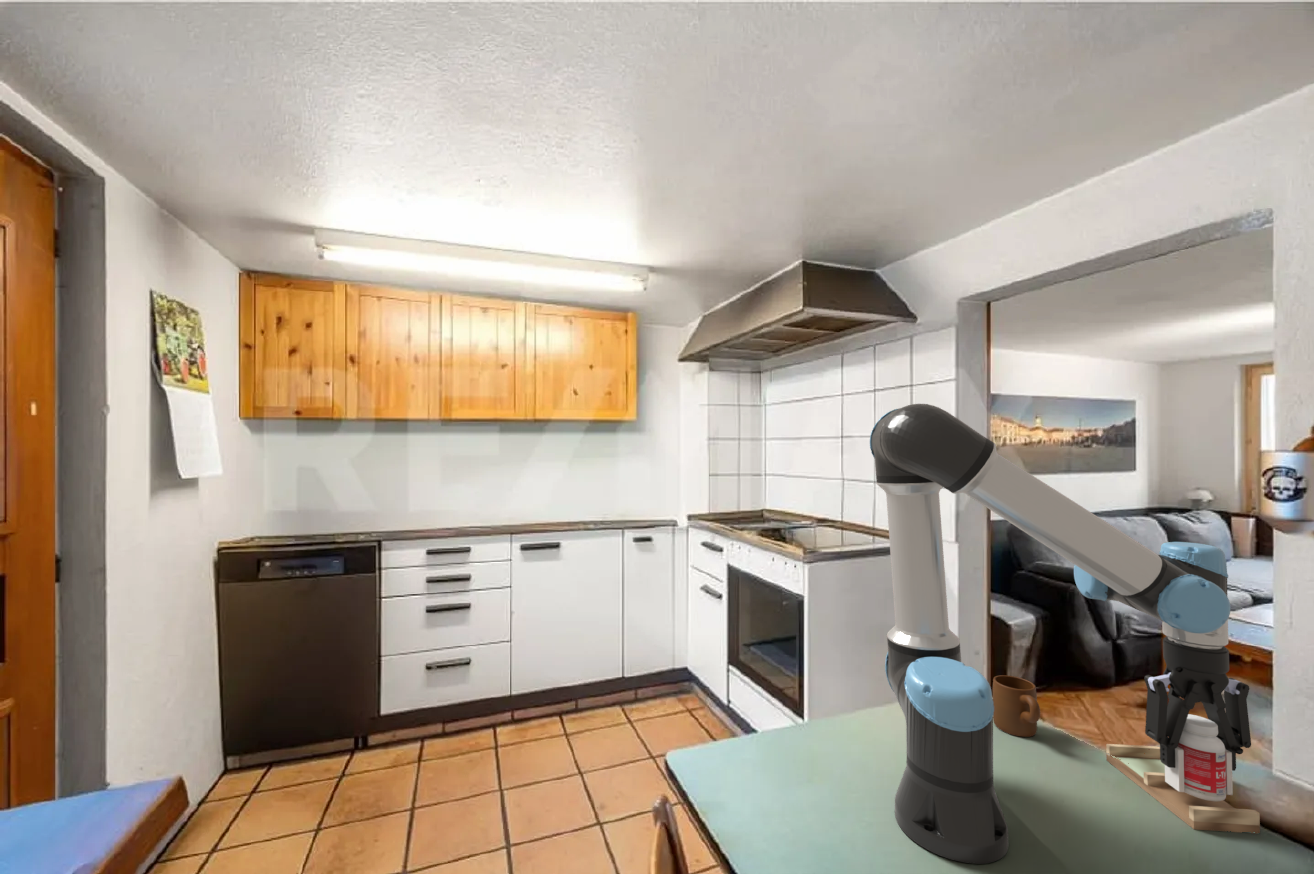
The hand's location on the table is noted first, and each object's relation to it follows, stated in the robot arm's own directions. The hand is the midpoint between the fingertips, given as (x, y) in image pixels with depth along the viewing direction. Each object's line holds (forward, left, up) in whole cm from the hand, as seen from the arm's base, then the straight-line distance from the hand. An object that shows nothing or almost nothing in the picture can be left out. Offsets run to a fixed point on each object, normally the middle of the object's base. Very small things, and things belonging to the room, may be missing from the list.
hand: (1198, 787), depth 87 cm
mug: (-15, +22, -4) cm, 27 cm away
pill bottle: (0, 0, -1) cm, 1 cm away
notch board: (0, +4, -4) cm, 6 cm away
